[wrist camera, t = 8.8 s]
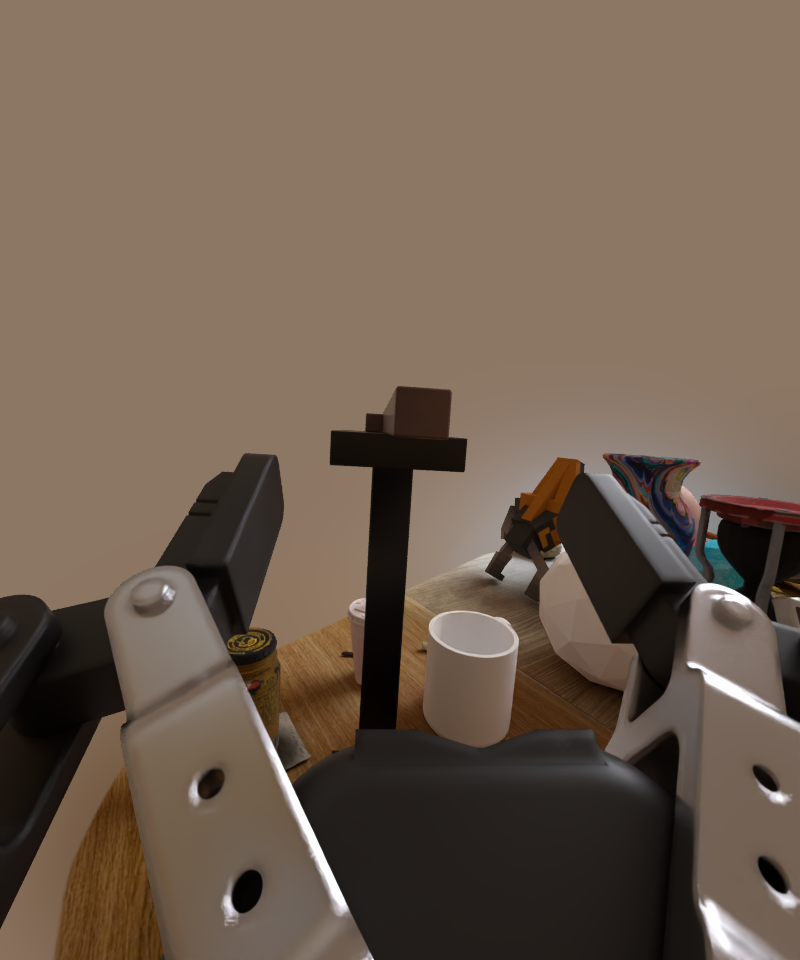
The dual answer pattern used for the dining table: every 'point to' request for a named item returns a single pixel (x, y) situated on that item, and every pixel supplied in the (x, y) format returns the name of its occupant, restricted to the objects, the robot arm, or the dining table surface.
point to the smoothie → (357, 634)
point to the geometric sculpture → (580, 628)
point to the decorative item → (552, 552)
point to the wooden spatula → (414, 414)
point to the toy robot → (536, 522)
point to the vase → (659, 491)
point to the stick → (347, 653)
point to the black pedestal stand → (388, 552)
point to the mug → (470, 677)
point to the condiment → (267, 691)
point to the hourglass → (753, 543)
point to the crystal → (718, 566)
